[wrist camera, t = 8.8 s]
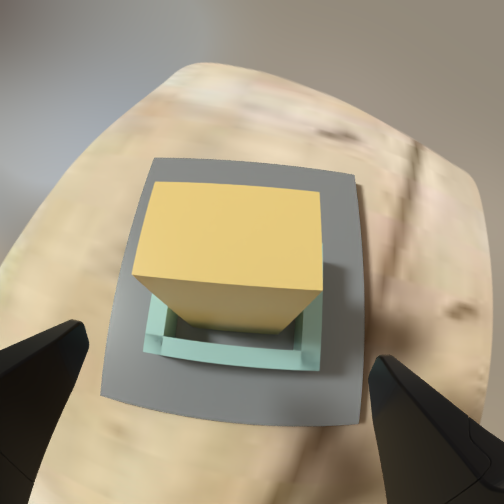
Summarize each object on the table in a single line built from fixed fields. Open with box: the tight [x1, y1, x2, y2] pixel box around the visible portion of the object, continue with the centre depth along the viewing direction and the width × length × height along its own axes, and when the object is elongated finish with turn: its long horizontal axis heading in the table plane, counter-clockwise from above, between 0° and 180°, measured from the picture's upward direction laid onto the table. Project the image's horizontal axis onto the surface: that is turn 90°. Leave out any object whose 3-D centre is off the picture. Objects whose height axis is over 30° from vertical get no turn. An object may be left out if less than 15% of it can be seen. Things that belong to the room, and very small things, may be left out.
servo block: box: [131, 182, 323, 335], centre depth 12 cm, size 3×5×10 cm, turn 86°
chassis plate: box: [100, 158, 364, 426], centre depth 17 cm, size 18×16×4 cm
